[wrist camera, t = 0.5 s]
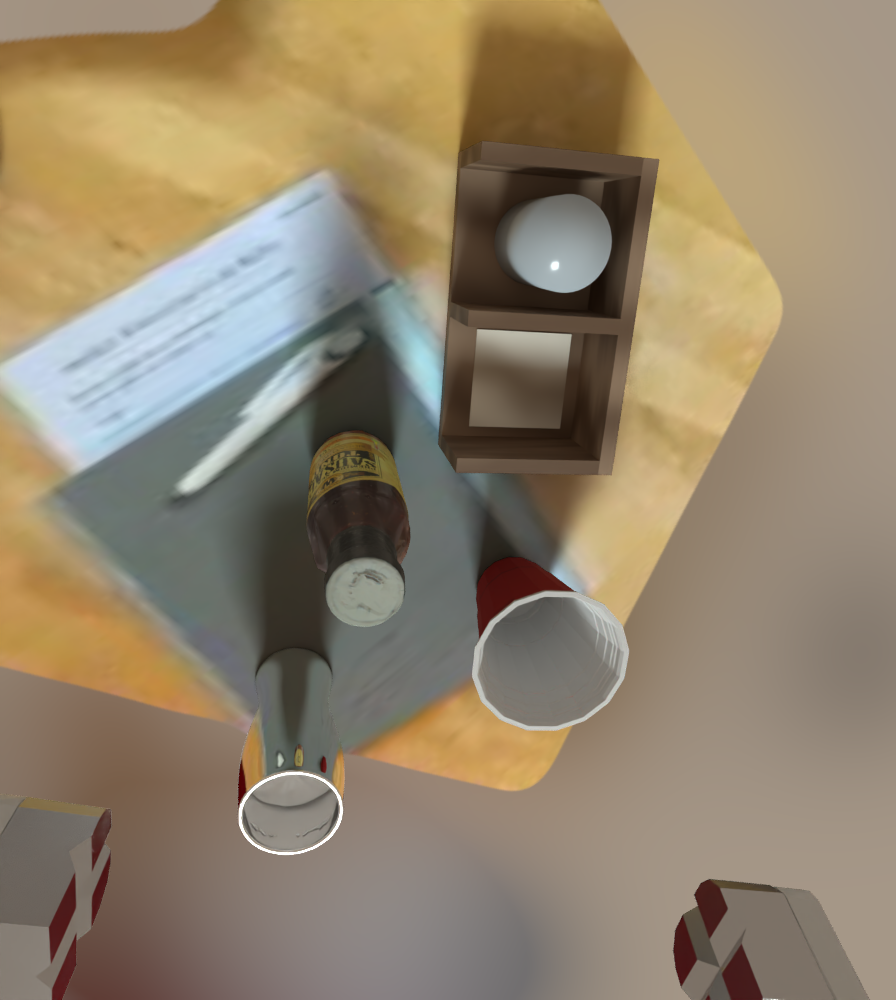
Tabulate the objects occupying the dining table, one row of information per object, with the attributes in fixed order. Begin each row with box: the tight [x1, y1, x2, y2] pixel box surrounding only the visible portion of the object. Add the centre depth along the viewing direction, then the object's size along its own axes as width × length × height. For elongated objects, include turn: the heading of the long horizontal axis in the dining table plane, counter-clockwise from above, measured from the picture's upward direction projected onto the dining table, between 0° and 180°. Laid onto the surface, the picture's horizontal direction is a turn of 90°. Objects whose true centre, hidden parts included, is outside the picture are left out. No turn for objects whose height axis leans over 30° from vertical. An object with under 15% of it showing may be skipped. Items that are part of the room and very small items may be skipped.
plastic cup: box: [472, 557, 629, 730], centre depth 55 cm, size 11×11×12 cm
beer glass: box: [237, 648, 345, 855], centre depth 53 cm, size 7×7×15 cm
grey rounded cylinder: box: [494, 194, 612, 293], centre depth 48 cm, size 6×6×7 cm
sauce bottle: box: [306, 430, 410, 627], centre depth 46 cm, size 6×6×20 cm
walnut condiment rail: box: [438, 141, 659, 475], centre depth 50 cm, size 20×11×7 cm, turn 176°
